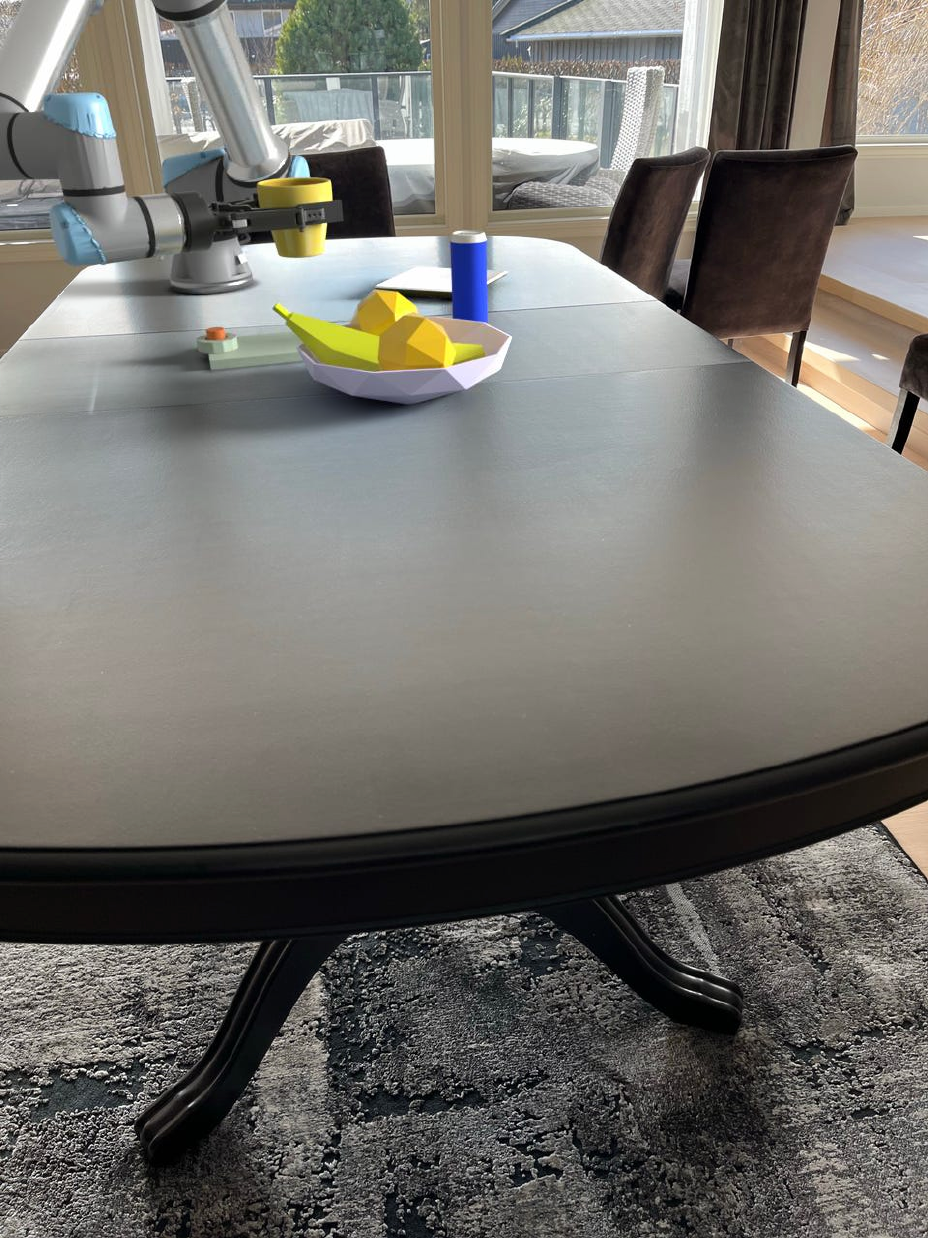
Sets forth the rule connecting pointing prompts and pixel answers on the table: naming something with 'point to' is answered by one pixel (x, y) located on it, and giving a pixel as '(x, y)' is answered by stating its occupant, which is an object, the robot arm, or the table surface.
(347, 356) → the fruit bowl
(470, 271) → the beverage can
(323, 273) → the table surface
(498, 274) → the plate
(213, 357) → the pale green flat block
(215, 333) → the button
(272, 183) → the flower pot
